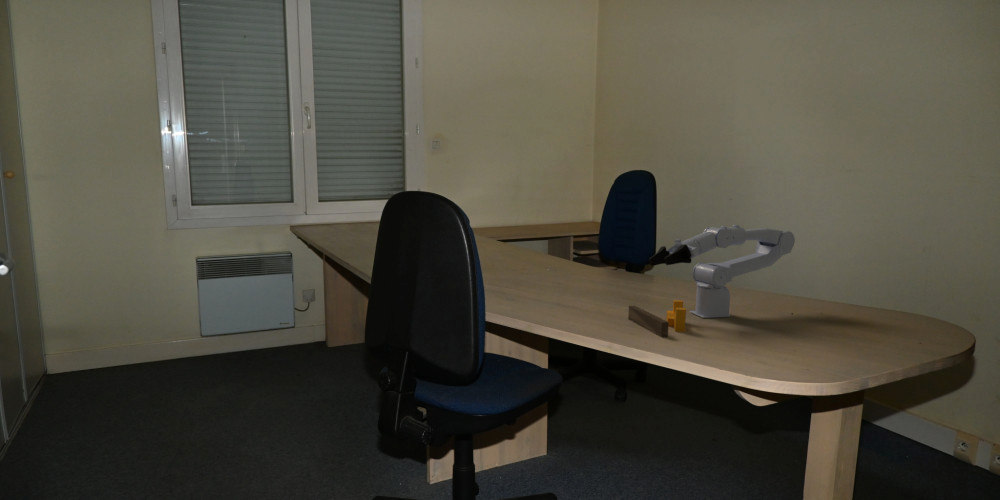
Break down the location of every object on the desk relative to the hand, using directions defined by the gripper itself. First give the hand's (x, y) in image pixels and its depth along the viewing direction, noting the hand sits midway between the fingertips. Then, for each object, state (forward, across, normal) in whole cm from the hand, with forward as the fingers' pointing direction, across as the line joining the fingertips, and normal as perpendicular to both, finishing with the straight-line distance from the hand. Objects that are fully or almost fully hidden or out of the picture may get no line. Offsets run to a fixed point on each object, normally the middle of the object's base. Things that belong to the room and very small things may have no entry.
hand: (657, 262), depth 193 cm
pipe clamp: (+3, +3, +19) cm, 19 cm away
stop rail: (+12, +2, +16) cm, 20 cm away
